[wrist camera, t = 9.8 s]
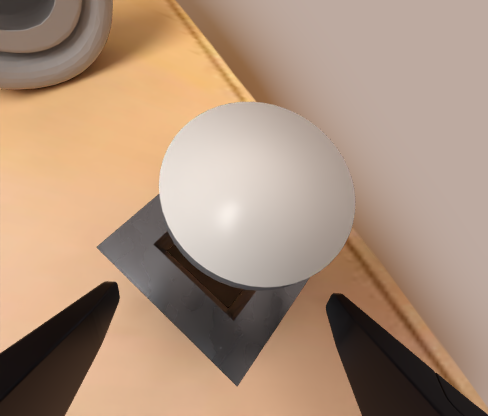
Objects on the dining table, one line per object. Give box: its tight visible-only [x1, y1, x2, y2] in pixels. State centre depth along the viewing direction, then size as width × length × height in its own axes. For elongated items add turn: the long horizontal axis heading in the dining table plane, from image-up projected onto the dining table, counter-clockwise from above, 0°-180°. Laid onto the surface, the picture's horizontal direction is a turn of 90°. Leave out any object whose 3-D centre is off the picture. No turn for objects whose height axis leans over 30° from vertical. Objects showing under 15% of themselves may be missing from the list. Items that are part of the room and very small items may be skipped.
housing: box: [97, 194, 310, 386], centre depth 15 cm, size 11×11×4 cm
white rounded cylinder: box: [159, 102, 355, 291], centre depth 11 cm, size 5×5×13 cm
